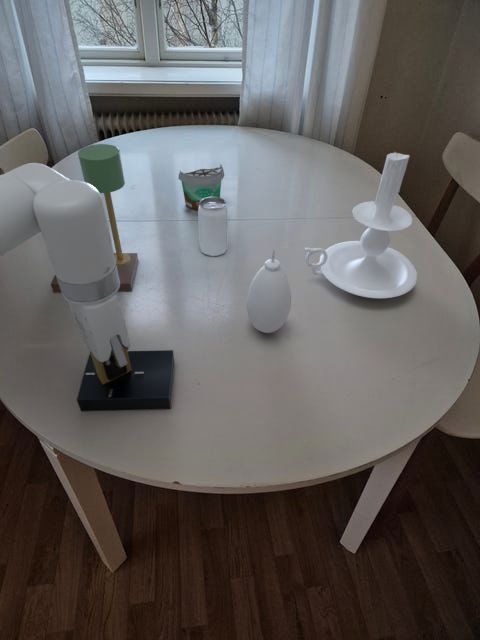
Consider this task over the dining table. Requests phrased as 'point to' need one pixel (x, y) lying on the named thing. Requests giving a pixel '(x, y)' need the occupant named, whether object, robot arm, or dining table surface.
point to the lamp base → (124, 273)
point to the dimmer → (131, 384)
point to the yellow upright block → (101, 370)
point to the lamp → (105, 183)
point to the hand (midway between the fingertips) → (113, 369)
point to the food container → (201, 185)
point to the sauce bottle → (269, 297)
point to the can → (212, 226)
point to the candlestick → (372, 244)
